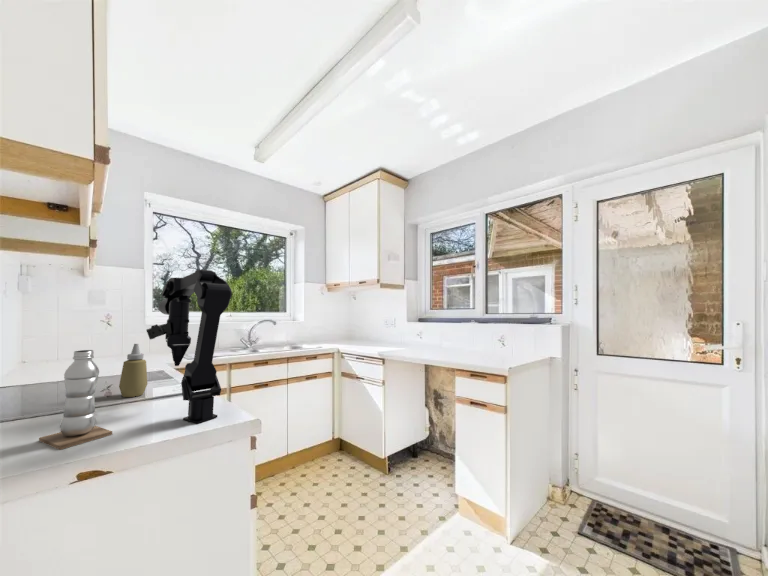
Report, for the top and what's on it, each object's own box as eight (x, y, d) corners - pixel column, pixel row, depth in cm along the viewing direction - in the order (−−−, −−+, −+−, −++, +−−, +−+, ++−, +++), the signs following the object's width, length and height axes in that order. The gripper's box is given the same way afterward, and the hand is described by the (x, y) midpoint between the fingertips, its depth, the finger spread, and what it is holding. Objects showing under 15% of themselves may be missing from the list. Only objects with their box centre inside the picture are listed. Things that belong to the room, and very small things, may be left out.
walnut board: (112, 434, 83) (112, 431, 83) (59, 449, 73) (60, 446, 74) (90, 427, 87) (91, 424, 87) (38, 441, 78) (39, 437, 78)
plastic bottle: (101, 428, 84) (106, 348, 85) (86, 438, 78) (92, 352, 79) (69, 430, 83) (76, 349, 84) (51, 441, 76) (58, 353, 77)
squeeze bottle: (152, 392, 121) (155, 342, 122) (136, 398, 113) (140, 345, 114) (128, 392, 120) (132, 342, 121) (112, 398, 112) (115, 345, 113)
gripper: (149, 314, 113) (146, 360, 112) (148, 317, 98) (145, 370, 97) (187, 314, 119) (184, 358, 118) (192, 317, 104) (189, 367, 103)
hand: (175, 363), depth 109 cm, fingers open, 9 cm apart
